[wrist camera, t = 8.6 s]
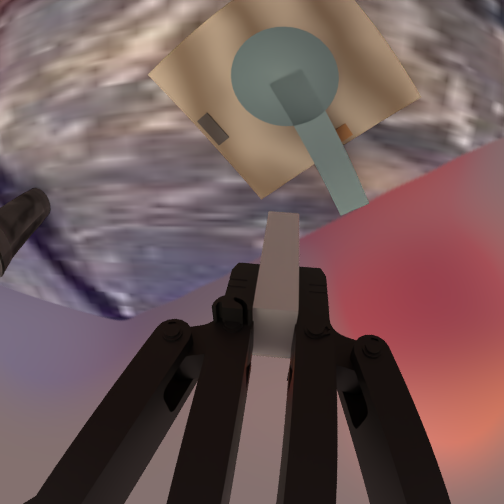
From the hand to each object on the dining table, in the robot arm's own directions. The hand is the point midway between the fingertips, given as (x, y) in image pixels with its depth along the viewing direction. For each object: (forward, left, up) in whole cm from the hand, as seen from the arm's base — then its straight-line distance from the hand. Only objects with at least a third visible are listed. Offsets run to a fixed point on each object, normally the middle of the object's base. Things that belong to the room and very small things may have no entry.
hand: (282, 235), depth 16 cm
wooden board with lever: (-5, -6, -15) cm, 16 cm away
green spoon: (-4, -2, -10) cm, 11 cm away
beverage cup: (+28, -16, -15) cm, 36 cm away
